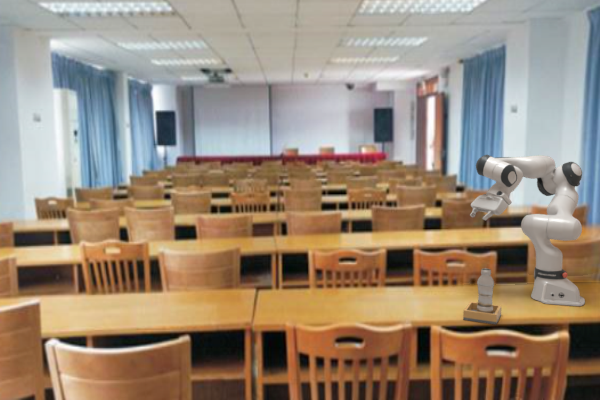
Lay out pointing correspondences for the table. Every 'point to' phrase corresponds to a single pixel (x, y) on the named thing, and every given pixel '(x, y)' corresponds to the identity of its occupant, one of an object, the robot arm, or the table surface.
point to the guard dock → (481, 314)
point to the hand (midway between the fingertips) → (477, 217)
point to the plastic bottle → (485, 292)
